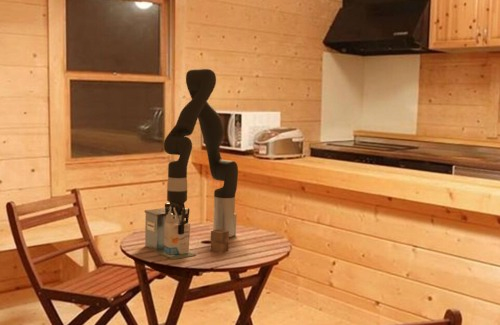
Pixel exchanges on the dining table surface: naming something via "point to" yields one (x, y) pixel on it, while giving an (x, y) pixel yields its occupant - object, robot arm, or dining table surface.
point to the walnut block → (219, 241)
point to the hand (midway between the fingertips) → (176, 232)
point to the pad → (177, 256)
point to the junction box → (155, 229)
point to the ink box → (175, 237)
